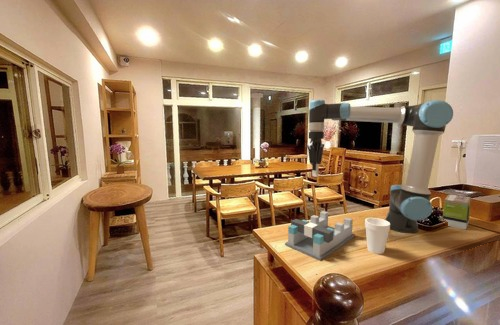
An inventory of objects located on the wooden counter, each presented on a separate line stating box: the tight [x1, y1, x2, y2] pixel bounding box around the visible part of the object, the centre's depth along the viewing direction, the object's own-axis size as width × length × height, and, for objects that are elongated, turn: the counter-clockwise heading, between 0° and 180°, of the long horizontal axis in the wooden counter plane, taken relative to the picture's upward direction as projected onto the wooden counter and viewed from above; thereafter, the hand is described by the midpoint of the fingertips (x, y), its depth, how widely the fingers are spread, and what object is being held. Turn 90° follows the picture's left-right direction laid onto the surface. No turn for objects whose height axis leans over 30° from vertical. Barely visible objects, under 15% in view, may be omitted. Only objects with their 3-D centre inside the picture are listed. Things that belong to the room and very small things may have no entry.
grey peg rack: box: [284, 210, 356, 262], centre depth 109 cm, size 18×32×9 cm, turn 132°
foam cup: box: [364, 217, 391, 255], centre depth 99 cm, size 10×9×13 cm
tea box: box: [442, 194, 472, 231], centre depth 127 cm, size 15×10×15 cm, turn 133°
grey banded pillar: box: [290, 218, 333, 243], centre depth 103 cm, size 19×5×5 cm, turn 43°
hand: (315, 176), depth 121 cm, fingers closed
